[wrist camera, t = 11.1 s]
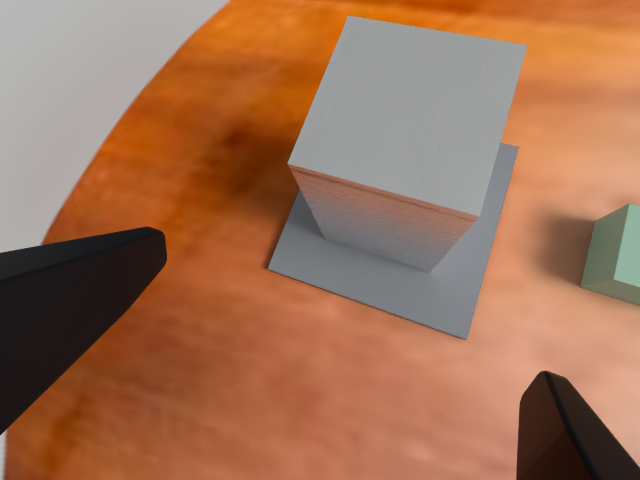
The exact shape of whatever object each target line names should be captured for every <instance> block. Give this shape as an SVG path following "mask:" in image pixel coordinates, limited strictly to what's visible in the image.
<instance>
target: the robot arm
mask: <svg viewBox="0 0 640 480" xmlns="http://www.w3.org/2000/svg"><path fill="white" fill-rule="evenodd" d="M166 261H167V251H166V241H165V235H164V233H163V232H162V231H160V230H157V229H154V228H152V227H142V228H136V229H131V230H125V231H119V232H114V233H108V234H103V235H97V236H92V237H86V238H80V239H75V240H69V241H64V242H58V243H53V244H47V245H41V246H36V247H30V248H25V249H20V250H14V251H8V252H3V253H0V435H1V434H2V433H3V432H4V431H5V430H6V429H7V428H8V427H9V426H10V425H11V424H12V423H13V422H14V421H15V420H16V419H17V418H18V417H20V416H21V415H22V414H23V413H24V412H25V411H26V410H27V409H28V408H29V407H30V406H31V405H32V404H33V403H34V402H35V401H36V400H37V399H38V398H39V397H40V396H41V395H42V394H43V393H44V392H45V391H46V390H47V389H48V388H49V387H50V386H51V385H52V384H53V383H54V382H55V381H56V380H57V379H58V378H59V377H60V376H61V375H62V374H63V373H64V372H65V371H66V370H67V369H68V368H69V367H70V366H71V365H72V364H73V363H74V362H75V361H77V360H78V359H79V358H80V357H81V356H82V355H83V354H84V353H85V352H86V351H87V350H88V349H89V348H90V347H91V346H92V345H93V344H94V343H95V342H96V341H97V340H98V339H99V338H100V337H101V336H102V335H103V334H104V333H105V332H106V331H107V330H108V329H109V328H110V327H111V326H112V325H113V324H114V323H115V322H116V321H117V320H118V319H119V318H120V317H121V316H122V315H123V314H124V313H125V312H126V311H127V310H128V309H129V308H130V307H131V305H132V304H133V303H134V302H135V301H136V300H137V298H138V297H139V296H140V295H141V294H142V292H143V291H144V290H145V289H146V288H147V286H148V285H149V284H150V283H151V282H152V280H153V279H154V278H155V277H156V276H157V274H158V273H159V272H160V271H161V270H162V269H163V267H164V266H165V264H166ZM516 480H640V467H639V466H638V465H637V464H636V462H635V461H634V460H633V459H632V457H631V456H630V455H629V454H628V453H627V451H626V450H625V449H624V448H623V446H622V445H621V444H620V443H619V442H618V440H617V439H616V438H615V437H614V435H613V434H612V433H611V432H610V430H609V429H608V428H607V427H606V426H605V424H604V423H603V422H602V421H601V419H600V418H599V417H598V416H597V415H596V413H595V412H594V411H593V410H592V408H591V407H590V406H589V405H588V404H587V402H586V401H585V400H584V399H583V397H582V396H581V395H580V394H579V393H578V391H577V390H576V389H575V388H574V386H573V385H572V384H571V383H570V382H569V381H568V380H567V379H566V378H564V377H562V376H560V375H557V374H554V373H551V372H549V371H541V372H540V373H539V374H538V375H537V376H536V377H535V379H534V380H533V381H532V383H531V384H530V386H529V387H528V388H527V390H526V391H525V392H524V394H523V395H522V398H521V401H520V408H519V429H518V450H517V475H516Z"/></svg>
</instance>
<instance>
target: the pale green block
mask: <svg viewBox="0 0 640 480" xmlns="http://www.w3.org/2000/svg"><path fill="white" fill-rule="evenodd" d="M580 287H581V288H584V289H588V290H591V291H594V292H597V293H600V294H604V295H607V296H610V297H613V298H616V299H620V300H623V301H626V302H629V303H632V304H636V305H639V306H640V206H637V205H633V204H627V205H626V206H624V207H622V208H620V209H618V210H616V211H614V212H612V213H610V214H608V215H606V216H604V217H602V218H600V219H598V220H596V221H595V223H594V228H593V232H592V237H591V241H590V246H589V250H588V255H587V259H586V263H585V268H584V272H583V277H582V281H581V286H580Z"/></svg>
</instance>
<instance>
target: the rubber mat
mask: <svg viewBox="0 0 640 480" xmlns="http://www.w3.org/2000/svg"><path fill="white" fill-rule="evenodd" d="M518 148H519V147H517V146H513V145H508V144H504V143H500V145H499V149H498V153H497V156H496V160H495V163H494V167H493V170H492V174H491V178H490V181H489V185H488V188H487V192H486V195H485V199H484V203H483V206H482V210H481V213H480V217H479V218H478V219H477V220H476V221H475V222H474V223H473V225H472V226H471V227H470V228H469V229H468V230H467V231H466V233H465V234H464V235H463V236H462V237H461V238H460V239H459V240H458V242H457V243H456V244H455V245H454V246H453V247H452V248H451V250H450V251H449V252H448V253H447V254H446V255H445V256H444V258H443V259H442V260H441V261H440V262H439V263H438V264H437V265H436V267H435V268H434V269H433V270H432V271H431V272H430V273H428V272H424V271H421V270H418V269H415V268H412V267H409V266H406V265H403V264H399V263H396V262H393V261H390V260H387V259H384V258H381V257H378V256H375V255H371V254H368V253H365V252H362V251H359V250H356V249H353V248H350V247H346V246H343V245H340V244H337V243H334V242H331V241H328V240H325V238H324V236H323V234H322V232H321V230H320V228H319V226H318V224H317V222H316V220H315V218H314V216H313V214H312V212H311V210H310V208H309V206H308V204H307V202H306V200H305V198H304V196H303V194H302V192H301V190H300V189H299V192H298V194H297V197H296V199H295V202H294V204H293V207H292V209H291V212H290V214H289V217H288V219H287V222H286V224H285V226H284V229H283V231H282V234H281V236H280V239H279V241H278V244H277V246H276V249H275V251H274V254H273V256H272V259H271V261H270V264H269V266H268V269H269V270H271V271H274V272H276V273H279V274H282V275H285V276H288V277H290V278H293V279H296V280H299V281H302V282H304V283H307V284H310V285H313V286H316V287H318V288H321V289H324V290H327V291H330V292H332V293H335V294H338V295H341V296H344V297H346V298H349V299H352V300H355V301H358V302H361V303H363V304H366V305H369V306H372V307H375V308H377V309H380V310H383V311H386V312H389V313H391V314H394V315H397V316H400V317H403V318H405V319H408V320H411V321H414V322H417V323H419V324H422V325H425V326H428V327H431V328H433V329H436V330H439V331H442V332H445V333H447V334H450V335H453V336H456V337H459V338H461V339H464V340H467V337H468V333H469V329H470V326H471V322H472V318H473V315H474V311H475V307H476V303H477V300H478V296H479V292H480V289H481V285H482V281H483V278H484V274H485V270H486V266H487V263H488V259H489V255H490V252H491V248H492V244H493V241H494V237H495V233H496V229H497V226H498V222H499V218H500V215H501V211H502V207H503V204H504V200H505V196H506V192H507V189H508V185H509V181H510V178H511V174H512V170H513V166H514V163H515V159H516V155H517V152H518Z"/></svg>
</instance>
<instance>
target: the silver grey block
mask: <svg viewBox="0 0 640 480" xmlns="http://www.w3.org/2000/svg"><path fill="white" fill-rule="evenodd" d="M527 46H528V45H523V44H517V43H511V42H505V41H499V40H492V39H486V38H480V37H474V36H468V35H462V34H456V33H450V32H444V31H438V30H432V29H426V28H420V27H414V26H408V25H402V24H396V23H390V22H384V21H378V20H372V19H366V18H360V17H354V16H348V18H347V21H346V23H345V25H344V28H343V30H342V33H341V35H340V38H339V40H338V42H337V45H336V47H335V50H334V52H333V54H332V57H331V59H330V62H329V64H328V67H327V69H326V71H325V74H324V76H323V79H322V81H321V84H320V86H319V88H318V91H317V93H316V96H315V98H314V100H313V103H312V105H311V108H310V110H309V113H308V115H307V117H306V120H305V122H304V125H303V127H302V129H301V132H300V134H299V137H298V139H297V142H296V144H295V146H294V149H293V151H292V154H291V156H290V158H289V161H288V163H287V164H288V166H289V168H290V170H291V172H292V174H293V176H294V178H295V180H296V182H297V184H298V186H299V188H300V190H301V192H302V194H303V196H304V198H305V200H306V202H307V204H308V206H309V208H310V210H311V212H312V214H313V216H314V218H315V220H316V222H317V224H318V226H319V228H320V230H321V232H322V234H323V236H324V238H325V240H328V241H331V242H334V243H337V244H340V245H343V246H346V247H350V248H353V249H356V250H359V251H362V252H365V253H368V254H371V255H375V256H378V257H381V258H384V259H387V260H390V261H393V262H396V263H399V264H403V265H406V266H409V267H412V268H415V269H418V270H421V271H424V272H428V273H430V272H431V271H432V270H433V269H434V268H435V267H436V265H437V264H438V263H439V262H440V261H441V260H442V259H443V258H444V256H445V255H446V254H447V253H448V252H449V251H450V250H451V248H452V247H453V246H454V245H455V244H456V243H457V242H458V240H459V239H460V238H461V237H462V236H463V235H464V234H465V233H466V231H467V230H468V229H469V228H470V227H471V226H472V225H473V223H474V222H475V221H476V220H477V219H478V218H479V217H480V213H481V210H482V206H483V203H484V199H485V195H486V192H487V188H488V185H489V181H490V178H491V174H492V170H493V167H494V163H495V160H496V156H497V153H498V149H499V145H500V142H501V138H502V135H503V131H504V128H505V124H506V120H507V117H508V113H509V110H510V106H511V103H512V99H513V96H514V92H515V88H516V85H517V81H518V78H519V74H520V71H521V67H522V63H523V60H524V56H525V53H526V49H527Z"/></svg>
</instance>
